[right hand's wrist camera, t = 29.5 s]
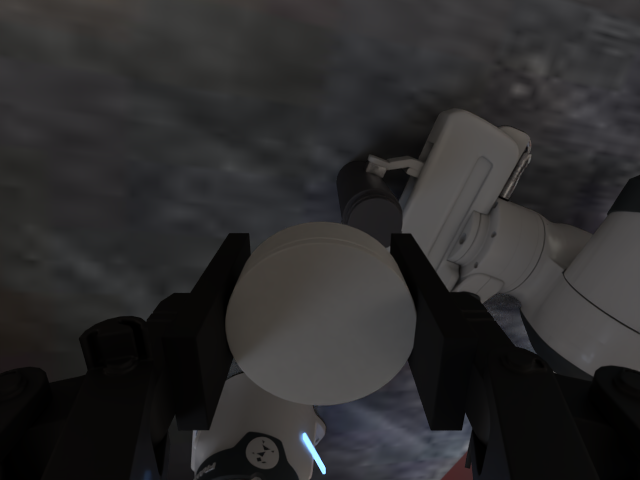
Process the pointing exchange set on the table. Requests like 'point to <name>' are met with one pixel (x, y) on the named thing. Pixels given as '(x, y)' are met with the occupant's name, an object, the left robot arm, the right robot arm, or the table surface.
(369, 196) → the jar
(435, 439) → the table surface
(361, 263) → the lid
